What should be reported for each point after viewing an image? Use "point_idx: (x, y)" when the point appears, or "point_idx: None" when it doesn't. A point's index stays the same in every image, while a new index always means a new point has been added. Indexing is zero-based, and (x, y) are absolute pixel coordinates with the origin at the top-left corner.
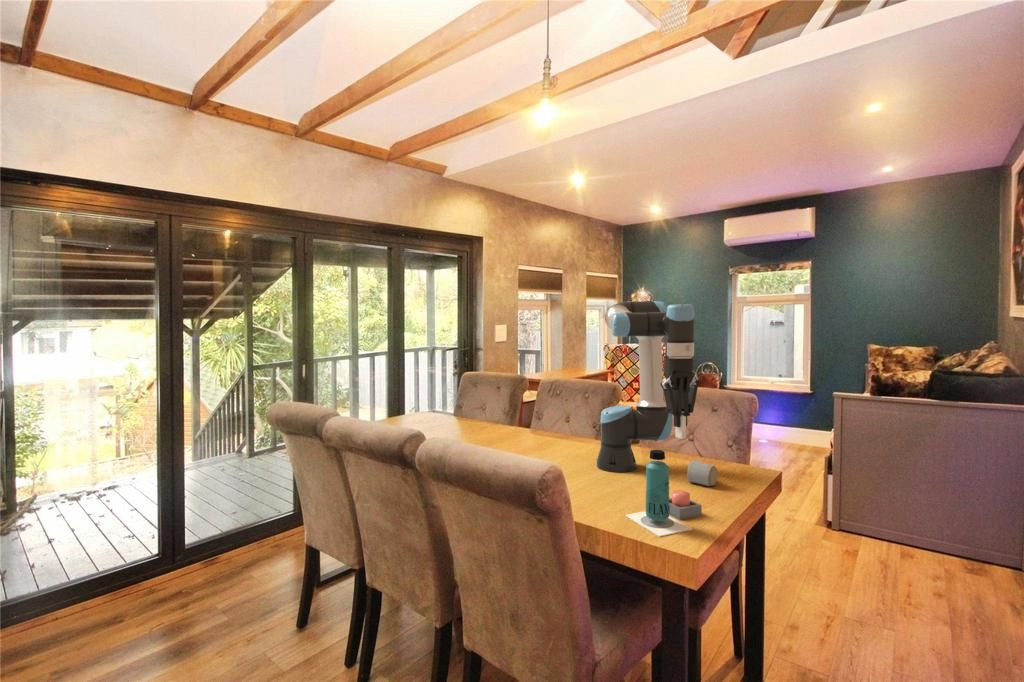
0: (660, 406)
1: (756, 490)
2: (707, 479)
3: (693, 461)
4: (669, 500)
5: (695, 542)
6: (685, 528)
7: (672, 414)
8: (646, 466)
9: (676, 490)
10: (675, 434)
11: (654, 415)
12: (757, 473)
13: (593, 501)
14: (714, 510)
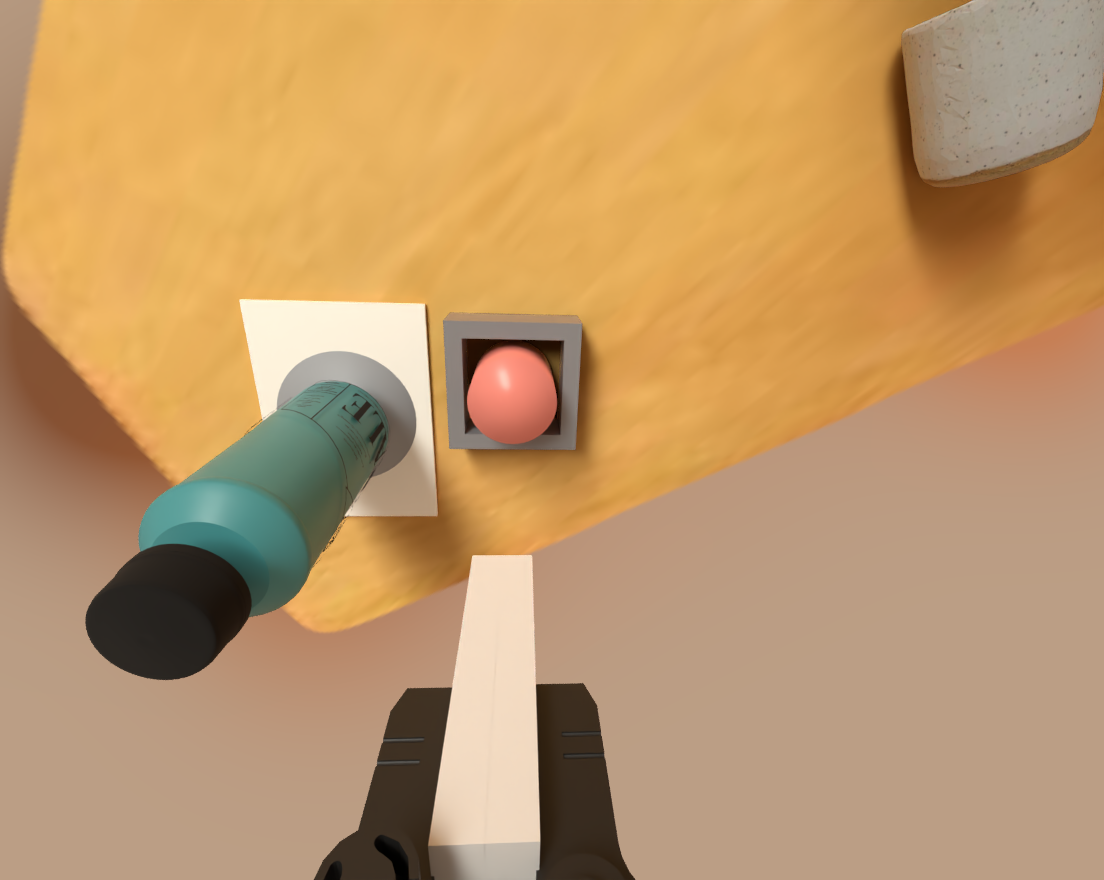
0: None
1: (1045, 319)
2: (927, 175)
3: None
4: (485, 338)
5: (382, 582)
6: (415, 506)
7: (350, 860)
8: (140, 528)
9: (521, 361)
10: (470, 574)
11: None
12: None
13: (145, 20)
14: (660, 416)
